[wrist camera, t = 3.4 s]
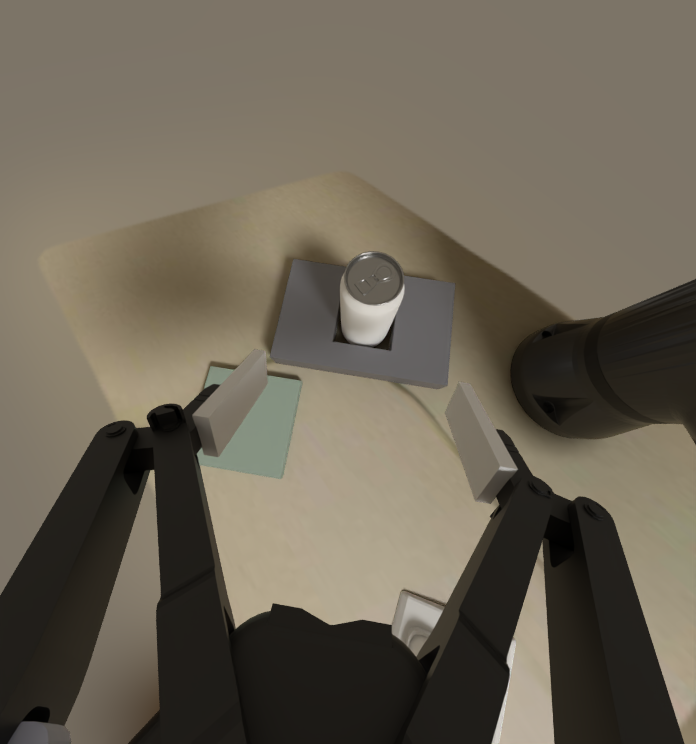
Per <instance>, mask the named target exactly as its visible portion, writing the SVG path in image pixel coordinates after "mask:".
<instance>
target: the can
mask: <svg viewBox="0 0 696 744" xmlns="http://www.w3.org/2000/svg"><path fill="white" fill-rule="evenodd" d="M403 295H404V273H403V270H402V268H401V266H400V265H399V263H398V262H397V261H396V260H395V259H394V258H393V257H391V256H389V255H387V254H385V253H382V252H376V251H370V252H365V253H362V254H359V255H357V256H356V257H354V258H353V259H352V260H351V261H350V262H349V264H348V265H347V267H346V269H345V272H344V274H343V276H342V279H341V283H340V308H341V328H342V333H343V336H344V337H345V339H346V340H347V341H348V342H349V343H350V344H351V345H358V346H364V347H370V348H373V347H375V346H377V345H379V344H380V343H381V342H382V341H383V340H384V338H385V337H386V335H387V333H388V330H389V328H390V326H391V324H392V322H393V320H394V317H395V315H396V313H397V311H398V308H399V306H400V304H401V301H402V299H403Z"/></svg>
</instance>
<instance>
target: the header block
mask: <svg viewBox="0 0 696 744" xmlns="http://www.w3.org/2000/svg"><path fill="white" fill-rule="evenodd" d="M345 269H346V267H344V266H337V265H331V264H324V263H318V262H311V261H304V260H298V259H293V262H292V267H291V271H290V275H289V279H288V283H287V287H286V291H285V296H284V300H283V304H282V308H281V312H280V316H279V320H278V325H277V329H276V333H275V337H274V341H273V345H272V349H271V354H270V358H271V359H272V360H274V361H275V362H276V363H279V364H285V365H291V366H298V367H304V368H310V369H316V370H322V371H328V372H335V373H341V374H347V375H353V376H359V377H366V378H372V379H378V380H384V381H390V382H396V383H403V384H409V385H415V386H421V387H427V388H433V389H440V388H443V387H445V386H447V385H448V372H449V359H450V346H451V332H452V319H453V306H454V293H455V283H450V282H443V281H436V280H430V279H423V278H417V277H410V276H404V295H403V299H402V301H401V304H400V306H399V308H398V311H397V313H396V315H395V317H394V320H393V322H392V327H391V334H390V342H389V349H388V350H383V349H376V348H370V347H364V346H358V345H351V344H345V343H339V342H335V337H336V332H337V326H338V321H339V315H340V310H341V308H340V283H341V279H342V276H343V274H344V272H345Z"/></svg>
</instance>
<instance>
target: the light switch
mask: <svg viewBox="0 0 696 744" xmlns="http://www.w3.org/2000/svg"><path fill="white" fill-rule="evenodd" d="M444 608H445V607H444V606H441V605H439V604H436V603H434V602H431V601H429V600H426V599H424V598H421V597H419V596H417V595H414V594H412V593H409V592H407V591H401V593H400V597H399V601H398V605H397V609H396V612H395V616H394V620H393V624H392V634H393V635H395V636H396V637H397V638H399V639H400V640H401V641H403V642H404V643H405V644H406V645H407V646H408V647H409V648H410V650H411V651H412V652H413V653H414V655H415V656H417V655H418V653H419V651H420V649H421V648H422V646H423V645H424V643H425V642H426V640H427V639H428V637H429V636H430V634H431V633H432V631H433V629H434V627H435V625H436V623H437V621H438V619H439V617H440V616H441V614H442V612H443V610H444ZM515 646H516V640H515V638H514V637H513V639H512V642H511V645H510V649H509V652H508V656H507V664H508V666H509V668H510V676H511V670H512V664H513V658H514V652H515ZM509 682H510V678H509ZM508 688H509V683H508V687H507V691H506V694H505V698H504V701H503V705H502V708H501V712H500V716H499V719H498V723H497V726H496V730H495V733H494V737H493V741H492V744H499V741H500V736H501V730H502V724H503V718H504V712H505V706H506V700H507V694H508Z"/></svg>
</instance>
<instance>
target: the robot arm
mask: <svg viewBox="0 0 696 744" xmlns="http://www.w3.org/2000/svg"><path fill="white" fill-rule="evenodd" d="M511 380H512V385H513V389H514V392H515V394H516V397H517V399H518V401H519V403H520V404H521V406H522V407H523V409H524V410H525V411H526V413H527V414H528V415H529V416H530V417H531V418H532V419H533V420H534V421H535V422H536V423H538V424H539V425H540V426H542V427H543V428H545V429H547V430H548V431H550V432H552V433H555V434H557V435H560V436H563V437H568V438H577V439H602V438H608V437H612V436H615V435H618V434H622V433H625V432H628V431H632V430H635V429H638V428H641V427H645V426H648V425H651V424H683V425H684V427H685V428H686V430H687V431H688V433H689V434H690V436H691V438H692V439H693V441H694V443H695V444H696V279H695V280H692V281H690V282H688V283H685V284H683V285H680V286H678V287H676V288H673V289H671V290H668V291H666V292H663V293H661V294H659V295H656V296H654V297H651V298H649V299H647V300H644V301H641V302H639V303H637V304H634V305H632V306H629V307H627V308H625V309H622V310H620V311H618V312H615V313H613V314H610V315H608V316H605V317H600V318H592V319H584V320H576V321H568V322H561V323H556V324H553V325H550V326H547V327H545V328H543V329H541V330H539V331H537V332H535V333H533V334H531V335H530V336H528V337H527V338H526V339H525V340H524V341H523V342H522V343H521V344H520V345H519V347H518V348H517V350H516V352H515V354H514V357H513V360H512V366H511ZM267 384H268V379H267V364H266V351H264V350H258V349H254V350H253V351H252V352H251V353H250V354H249V355H248V356H247V358H246V359H245V360H244V361H243V362H242V363H241V364H240V365H239V366H238V367H237V368H236V369H235V370H234V371H233V372H232V373H231V374H230V376H229V377H228V378H227V379H226V380H225V381H224V382H223V383H222V384H221V385H219V384H212V385H210V386H208V387H206V388H205V389H204V390H203V391H202V392H201V393H200V394H199V395H198V396H197V397H196V398H195V399H194V400H193V401H191V402H190V403H189V404H188V405H187V406H186V407H185V408H184V409H182V407H181V406H180V405H177V404H164V405H161V406H158V407H156V408H154V409H153V410H151V411H150V412H149V413H148V415H147V420H148V422H149V425H150V427H145V428H136V427H135V425H134V424H133V423H132V422H130V421H117V422H113V423H111V424H108V425H106V426H104V427H103V428H101V429H100V430H99V431H98V432H97V434H96V435H95V437H94V438H93V440H92V442H91V443H90V445H89V447H88V448H87V450H86V452H85V453H84V455H83V457H82V458H81V460H80V462H79V463H78V465H77V467H76V469H75V470H74V472H73V474H72V475H71V477H70V479H69V480H68V482H67V484H66V486H65V487H64V489H63V490H62V492H61V494H60V496H59V498H58V499H57V501H56V502H55V504H54V506H53V507H52V509H51V511H50V512H49V514H48V516H47V517H46V519H45V521H44V523H43V524H42V526H41V528H40V530H39V531H38V533H37V534H36V536H35V538H34V540H33V541H32V543H31V545H30V546H29V548H28V550H27V551H26V553H25V555H24V556H23V558H22V560H21V561H20V563H19V565H18V567H17V568H16V570H15V572H14V573H13V575H12V577H11V578H10V580H9V582H8V583H7V585H6V587H5V589H4V590H3V592H2V594H1V595H0V744H71V738H70V732H69V731H68V729H67V728H66V727H65V726H64V725H65V723H66V721H67V718H68V716H69V714H70V712H71V709H72V707H73V705H74V703H75V700H76V698H77V696H78V694H79V691H80V688H81V686H82V683H83V680H84V677H85V675H86V672H87V669H88V666H89V663H90V660H91V657H92V653H93V651H94V647H95V644H96V641H97V638H98V635H99V631H100V628H101V625H102V622H103V619H104V615H105V612H106V609H107V606H108V603H109V599H110V596H111V593H112V590H113V587H114V584H115V581H116V577H117V574H118V571H119V568H120V565H121V561H122V558H123V555H124V552H125V549H126V545H127V542H128V539H129V536H130V533H131V530H132V527H133V523H134V520H135V517H136V514H137V511H138V508H139V504H140V501H141V498H142V495H143V492H144V488H145V485H146V482H147V479H148V476H149V473H150V470H154V471H155V490H156V508H157V526H158V546H159V565H160V582H161V598H160V600H159V602H158V604H157V610H156V625H157V651H158V674H159V675H158V676H159V700H160V710H159V711H158V712H157V713H156V714H155V715H154V716H153V717H152V718H151V719H150V720H149V722H148V723H147V724H146V725H145V726H144V727H143V728H142V729H141V730H140V731H139V732H138V733H137V734H136V736H134V738H133V739H132V740H131V741H130V742H129V743H128V744H492V741H493V737H494V733H495V730H496V726H497V723H498V719H499V716H500V712H501V708H502V705H503V701H504V698H505V694H506V691H507V687H508V683H509V678H510V668H509V666H508V664H507V656H508V652H509V649H510V645H511V642H512V639H513V635H514V632H515V629H516V626H517V622H518V619H519V616H520V612H521V609H522V606H523V602H524V599H525V596H526V593H527V589H528V586H529V583H530V579H531V576H532V573H533V569H534V566H535V563H536V560H537V556H538V553H539V550H540V546H541V543H542V540H543V557H544V574H545V591H546V607H547V624H548V641H549V658H550V675H551V691H552V708H553V725H554V742H555V744H684V741H683V738H682V735H681V732H680V728H679V725H678V722H677V719H676V716H675V713H674V710H673V706H672V703H671V700H670V697H669V694H668V691H667V687H666V684H665V681H664V678H663V675H662V672H661V668H660V665H659V662H658V659H657V656H656V653H655V649H654V646H653V643H652V640H651V637H650V634H649V631H648V627H647V624H646V621H645V618H644V615H643V612H642V608H641V605H640V602H639V599H638V596H637V593H636V589H635V586H634V583H633V580H632V577H631V574H630V571H629V567H628V564H627V561H626V558H625V555H624V552H623V548H622V545H621V542H620V539H619V536H618V533H617V529H616V526H615V523H614V520H613V519H612V517H611V515H610V514H609V513H608V512H607V511H606V509H605V508H603V507H602V506H601V505H600V504H598V503H597V502H595V501H593V500H592V499H589V498H586V497H577V498H576V499H575V500H573V501H570V500H568V499H566V498H563V497H561V496H558V495H556V494H554V493H553V491H552V489H551V488H550V487H549V486H548V485H547V484H546V483H545V482H543V481H542V480H541V479H539V478H537V477H535V476H533V475H532V473H531V472H530V470H529V468H528V467H527V465H526V463H525V462H524V460H523V458H522V456H521V455H520V454H519V451H518V450H517V448H516V447H515V445H514V443H513V441H512V440H511V438H510V437H509V436H508V435H507V434H506V433H505V432H504V431H503V430H498V429H495V427H494V425H493V424H492V422H491V420H490V418H489V416H488V415H487V413H486V411H485V409H484V407H483V406H482V404H481V402H480V400H479V398H478V397H477V395H476V393H475V391H474V389H473V388H472V386H471V384H470V383H465V382H458V384H457V386H456V389H455V391H454V393H453V395H452V398H451V400H450V402H449V404H448V407H447V409H446V411H445V414H446V417H447V420H448V423H449V426H450V429H451V432H452V435H453V438H454V440H455V443H456V446H457V449H458V452H459V455H460V458H461V461H462V464H463V467H464V470H465V473H466V476H467V478H468V481H469V484H470V487H471V490H472V493H473V496H474V499H475V501H477V502H483V503H489V504H491V503H492V501H493V500H494V499H495V498H496V497H497V500H498V502H499V506H498V507H497V508H496V509H495V511H494V512H493V513H492V514H491V515H490V517H491V520H490V522H489V524H488V525H487V527H486V529H485V531H484V533H483V535H482V537H481V539H480V541H479V543H478V545H477V547H476V548H475V550H474V552H473V554H472V556H471V558H470V560H469V562H468V564H467V566H466V568H465V570H464V571H463V573H462V575H461V577H460V579H459V581H458V583H457V585H456V587H455V589H454V591H453V593H452V594H451V596H450V598H449V600H448V602H447V604H446V606H445V608H444V610H443V612H442V614H441V616H440V617H439V619H438V621H437V623H436V625H435V627H434V629H433V631H432V633H431V634H430V636H429V637H428V639H427V640H426V642H425V643H424V645H423V646H422V648H421V649H420V651H419V653H418V655H417V656H415V655H414V653H413V652H412V651H411V650H410V648H409V647H408V646H407V645H406V644H405V643H404V642H403V641H401V640H400V639H399V638H397V637H396V636H395V635H393V634H392V625H388V624H383V623H377V622H372V621H366V620H358V621H353V622H348V623H342V624H337V625H329V624H327V623H325V622H323V621H322V620H320V619H318V618H317V617H315V616H313V615H312V614H310V613H308V612H307V611H305V610H303V609H301V608H295V607H290V606H284V605H279V604H274V603H273V605H272V608H271V611H269V612H264V613H261V614H258V615H256V616H254V617H252V618H250V619H249V620H247V621H246V622H244V623H243V624H241V625H240V626H239V627H238V628H237V629H236V628H235V623H234V619H233V614H232V610H231V606H230V603H229V599H228V595H227V591H226V586H225V581H224V577H223V572H222V567H221V563H220V558H219V553H218V549H217V544H216V539H215V535H214V530H213V525H212V521H211V516H210V511H209V507H208V502H207V497H206V493H205V488H204V483H203V479H202V474H201V469H200V465H199V460H198V456H197V453H198V452H199V450H200V449H201V448H202V450H203V453H204V455H207V456H213V457H219V456H220V455H221V453H222V452H223V450H224V449H225V447H226V446H227V444H228V443H229V441H230V440H231V438H232V437H233V435H234V434H235V432H236V431H237V429H238V428H239V426H240V425H241V423H242V422H243V420H244V419H245V417H246V416H247V414H248V413H249V411H250V410H251V408H252V407H253V405H254V404H255V402H256V401H257V399H258V398H259V396H260V395H261V393H262V392H263V390H264V389H265V387H266V386H267Z"/></svg>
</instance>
